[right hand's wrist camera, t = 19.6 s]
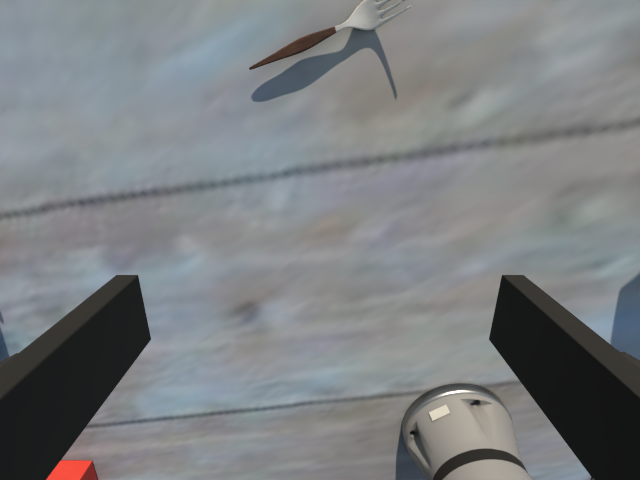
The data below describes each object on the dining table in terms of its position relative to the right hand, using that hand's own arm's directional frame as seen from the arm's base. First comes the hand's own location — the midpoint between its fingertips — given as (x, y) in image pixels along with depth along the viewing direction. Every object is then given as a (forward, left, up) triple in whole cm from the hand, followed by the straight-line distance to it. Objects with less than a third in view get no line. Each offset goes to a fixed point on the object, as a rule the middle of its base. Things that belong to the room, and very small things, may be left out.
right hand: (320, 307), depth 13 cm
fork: (+11, -8, -27) cm, 31 cm away
